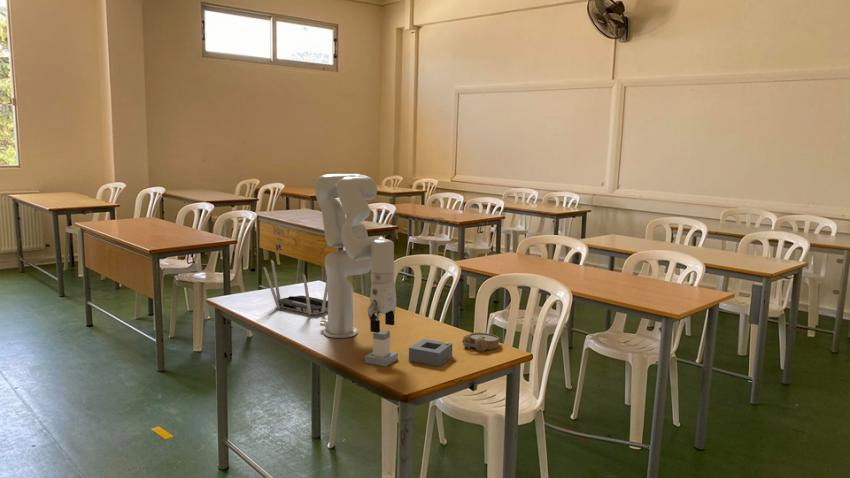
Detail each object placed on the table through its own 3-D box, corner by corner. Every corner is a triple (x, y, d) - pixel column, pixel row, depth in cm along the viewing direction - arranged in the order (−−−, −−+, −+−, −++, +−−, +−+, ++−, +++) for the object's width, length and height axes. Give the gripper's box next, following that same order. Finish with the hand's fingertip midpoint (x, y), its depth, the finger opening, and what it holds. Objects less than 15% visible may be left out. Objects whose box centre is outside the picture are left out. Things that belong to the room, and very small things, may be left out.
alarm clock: (505, 338, 228) (481, 340, 217) (503, 351, 228) (479, 354, 217) (480, 331, 235) (456, 332, 224) (479, 344, 236) (454, 346, 224)
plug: (373, 361, 209) (373, 332, 207) (379, 358, 213) (379, 329, 211) (383, 363, 207) (383, 334, 206) (389, 360, 211) (389, 331, 209)
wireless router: (351, 310, 270) (351, 264, 267) (314, 322, 251) (313, 273, 247) (293, 298, 288) (292, 255, 284) (254, 309, 268) (253, 263, 265)
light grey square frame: (364, 362, 208) (364, 356, 208) (376, 355, 215) (377, 349, 215) (385, 366, 205) (385, 360, 204) (397, 359, 212) (397, 352, 211)
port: (408, 360, 211) (409, 346, 210) (423, 351, 220) (423, 337, 220) (438, 366, 206) (439, 352, 205) (452, 356, 216) (452, 342, 215)
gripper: (379, 283, 196) (379, 336, 198) (404, 273, 211) (404, 323, 214) (358, 281, 199) (359, 333, 201) (385, 271, 215) (385, 320, 217)
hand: (382, 328), depth 208 cm, fingers open, 9 cm apart
